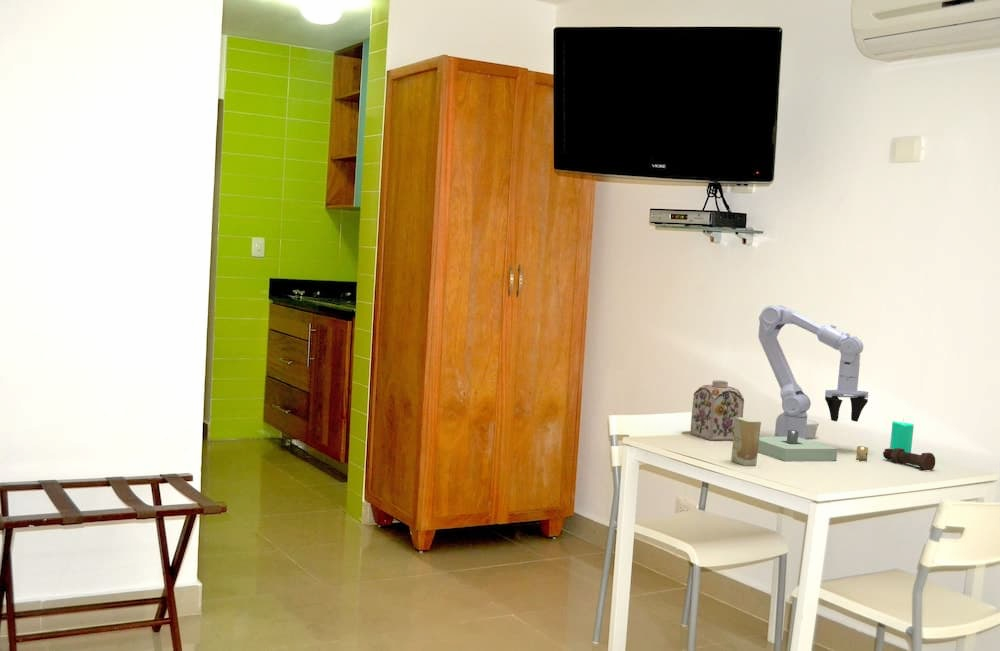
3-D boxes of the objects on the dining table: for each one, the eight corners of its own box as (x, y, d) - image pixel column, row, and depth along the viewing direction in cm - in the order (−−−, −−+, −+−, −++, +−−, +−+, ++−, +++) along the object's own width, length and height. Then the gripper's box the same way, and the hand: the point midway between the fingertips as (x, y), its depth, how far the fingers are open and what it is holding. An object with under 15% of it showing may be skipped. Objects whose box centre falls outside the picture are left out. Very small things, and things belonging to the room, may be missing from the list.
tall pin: (783, 453, 282) (785, 429, 281) (791, 453, 283) (794, 429, 282) (790, 455, 279) (792, 431, 279) (798, 455, 280) (800, 431, 280)
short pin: (853, 459, 280) (854, 446, 280) (861, 459, 281) (863, 446, 281) (860, 461, 277) (862, 448, 277) (869, 461, 278) (870, 448, 278)
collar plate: (746, 448, 286) (747, 436, 286) (796, 448, 293) (797, 436, 292) (784, 461, 270) (785, 448, 269) (836, 460, 276) (837, 448, 276)
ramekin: (797, 439, 309) (798, 423, 308) (774, 433, 319) (776, 417, 319) (824, 439, 313) (826, 423, 313) (801, 433, 323) (803, 417, 323)
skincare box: (730, 460, 265) (734, 417, 264) (743, 460, 266) (747, 417, 265) (744, 465, 259) (748, 421, 258) (757, 465, 260) (761, 421, 259)
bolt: (886, 465, 284) (930, 475, 271) (877, 457, 282) (920, 467, 269) (894, 448, 286) (938, 457, 272) (885, 440, 284) (928, 449, 270)
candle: (885, 456, 289) (889, 417, 288) (893, 454, 293) (897, 415, 293) (905, 460, 285) (909, 420, 284) (913, 458, 289) (917, 419, 288)
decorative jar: (741, 440, 299) (746, 383, 298) (710, 441, 294) (715, 383, 293) (719, 433, 310) (724, 378, 309) (688, 433, 306) (693, 377, 304)
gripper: (837, 377, 284) (833, 423, 285) (876, 379, 289) (872, 423, 290) (822, 374, 291) (818, 418, 292) (860, 375, 296) (856, 419, 297)
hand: (844, 420), depth 292 cm, fingers open, 7 cm apart
